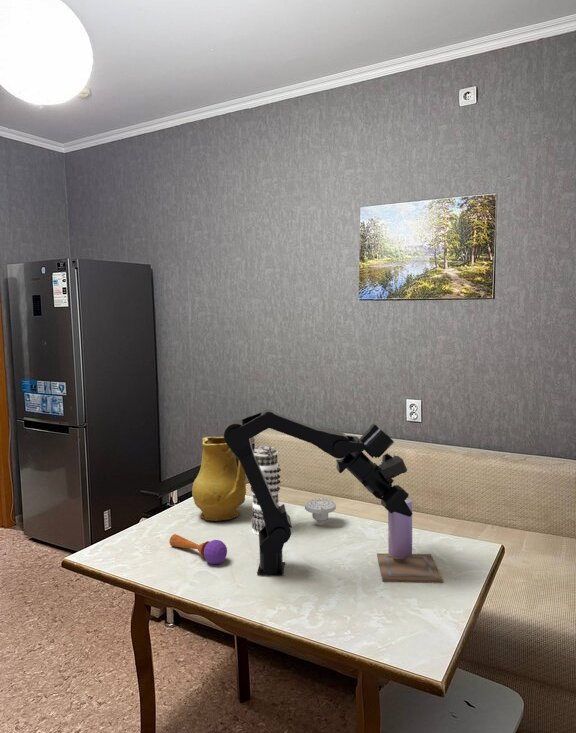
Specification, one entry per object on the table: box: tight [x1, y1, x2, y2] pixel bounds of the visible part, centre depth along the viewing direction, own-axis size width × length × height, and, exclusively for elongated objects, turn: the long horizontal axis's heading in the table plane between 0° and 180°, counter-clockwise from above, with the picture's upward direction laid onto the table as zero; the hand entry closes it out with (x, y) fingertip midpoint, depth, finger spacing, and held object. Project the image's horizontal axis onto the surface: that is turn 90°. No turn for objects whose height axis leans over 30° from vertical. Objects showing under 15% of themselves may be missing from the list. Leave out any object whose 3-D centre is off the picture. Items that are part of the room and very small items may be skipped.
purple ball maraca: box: [168, 533, 228, 565], centre depth 143 cm, size 6×6×20 cm
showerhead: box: [304, 497, 337, 526], centre depth 162 cm, size 9×7×10 cm
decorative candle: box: [250, 445, 281, 536], centre depth 157 cm, size 9×9×25 cm
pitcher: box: [191, 436, 247, 522], centre depth 169 cm, size 17×19×25 cm
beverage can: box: [387, 495, 413, 560], centre depth 136 cm, size 6×6×15 cm
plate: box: [376, 552, 444, 584], centre depth 133 cm, size 14×14×1 cm
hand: (406, 510), depth 136 cm, fingers closed on beverage can, 6 cm apart
